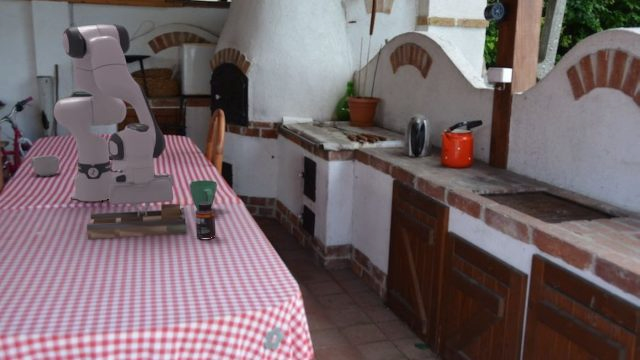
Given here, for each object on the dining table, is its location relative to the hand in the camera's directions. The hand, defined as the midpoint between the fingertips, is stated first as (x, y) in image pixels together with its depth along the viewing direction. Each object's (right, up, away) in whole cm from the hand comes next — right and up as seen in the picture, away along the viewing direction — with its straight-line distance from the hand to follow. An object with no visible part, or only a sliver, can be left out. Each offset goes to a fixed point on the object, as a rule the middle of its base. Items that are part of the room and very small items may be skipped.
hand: (142, 215), depth 207 cm
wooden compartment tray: (-1, -5, 0) cm, 5 cm away
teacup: (-65, +14, +77) cm, 102 cm away
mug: (+17, 0, +23) cm, 28 cm away
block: (+9, -1, +2) cm, 9 cm away
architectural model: (-34, +15, +88) cm, 95 cm away
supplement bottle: (+22, -7, -6) cm, 24 cm away
